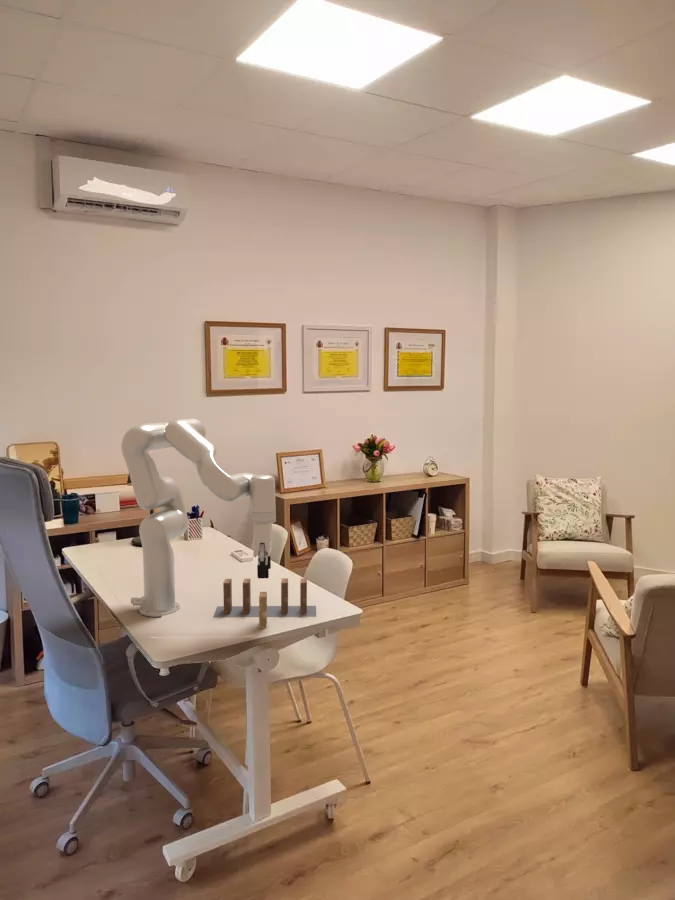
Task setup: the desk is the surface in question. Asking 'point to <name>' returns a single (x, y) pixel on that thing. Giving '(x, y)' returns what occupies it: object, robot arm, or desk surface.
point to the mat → (271, 612)
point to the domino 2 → (246, 596)
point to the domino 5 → (303, 596)
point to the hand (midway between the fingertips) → (264, 573)
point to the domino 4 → (284, 596)
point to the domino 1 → (227, 595)
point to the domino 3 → (262, 609)
